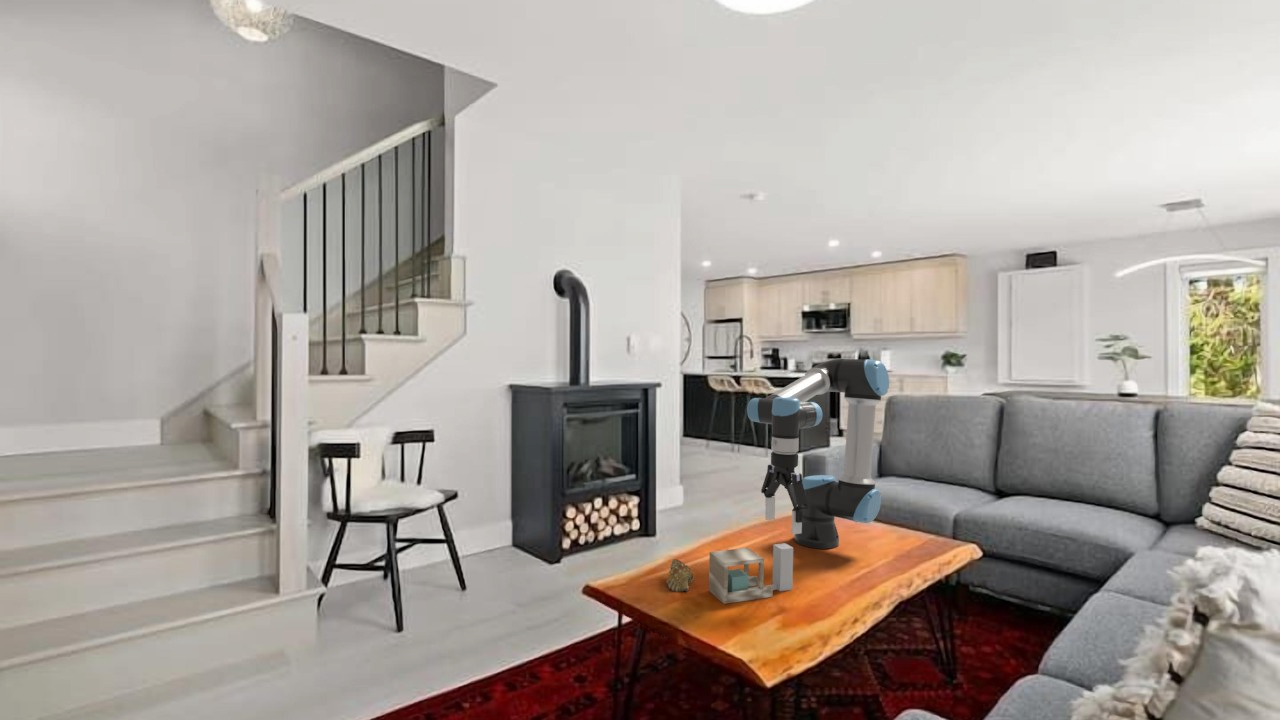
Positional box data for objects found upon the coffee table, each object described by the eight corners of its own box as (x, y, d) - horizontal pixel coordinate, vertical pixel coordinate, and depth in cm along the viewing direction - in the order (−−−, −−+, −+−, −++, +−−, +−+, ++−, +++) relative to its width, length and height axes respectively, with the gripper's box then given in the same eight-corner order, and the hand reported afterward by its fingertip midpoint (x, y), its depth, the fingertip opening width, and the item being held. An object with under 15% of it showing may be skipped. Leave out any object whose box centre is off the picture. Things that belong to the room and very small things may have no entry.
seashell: (660, 594, 176) (658, 558, 181) (685, 595, 179) (683, 560, 184) (674, 590, 169) (672, 553, 173) (700, 591, 172) (698, 554, 176)
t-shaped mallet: (783, 583, 178) (784, 542, 177) (793, 590, 173) (794, 548, 173) (723, 591, 171) (724, 549, 171) (731, 599, 166) (732, 555, 166)
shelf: (755, 584, 177) (756, 546, 177) (772, 596, 168) (773, 557, 168) (708, 590, 172) (709, 551, 171) (723, 603, 163) (724, 563, 163)
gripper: (750, 445, 184) (749, 515, 185) (798, 461, 161) (796, 541, 161) (772, 444, 187) (770, 513, 187) (822, 459, 163) (820, 538, 164)
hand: (782, 526), depth 174 cm, fingers open, 13 cm apart
